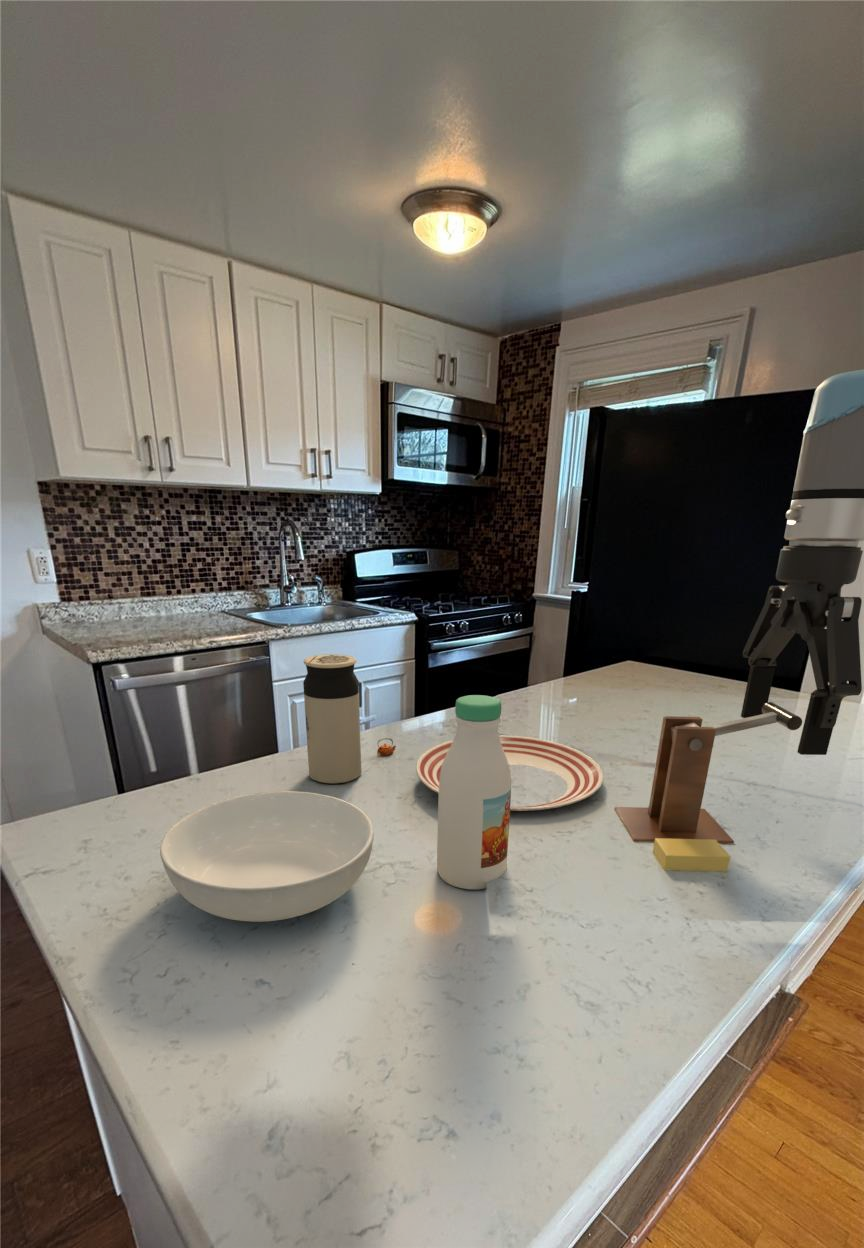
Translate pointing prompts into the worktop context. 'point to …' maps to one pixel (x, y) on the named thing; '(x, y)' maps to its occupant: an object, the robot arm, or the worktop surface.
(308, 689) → the travel mug
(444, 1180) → the worktop surface
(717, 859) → the butter
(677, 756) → the brown lever stand
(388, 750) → the teapot
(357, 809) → the serving bowl
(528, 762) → the dinner plate
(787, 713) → the metal lever handle
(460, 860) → the milk bottle
